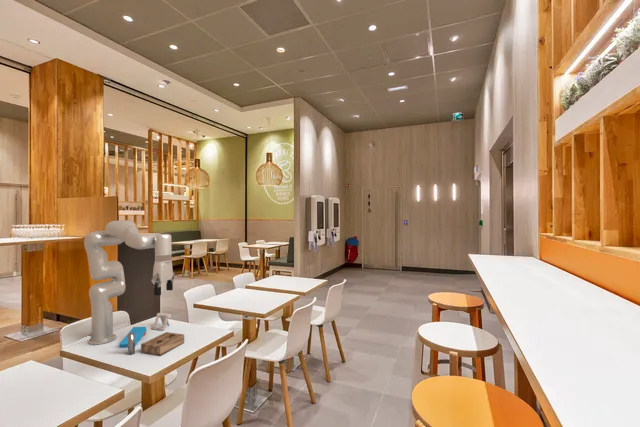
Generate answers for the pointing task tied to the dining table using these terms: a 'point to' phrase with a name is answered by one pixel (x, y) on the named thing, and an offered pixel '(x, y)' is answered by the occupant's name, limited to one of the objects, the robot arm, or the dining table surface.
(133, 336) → the pin
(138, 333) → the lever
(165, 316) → the portable electronic device stand
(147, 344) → the hole block
